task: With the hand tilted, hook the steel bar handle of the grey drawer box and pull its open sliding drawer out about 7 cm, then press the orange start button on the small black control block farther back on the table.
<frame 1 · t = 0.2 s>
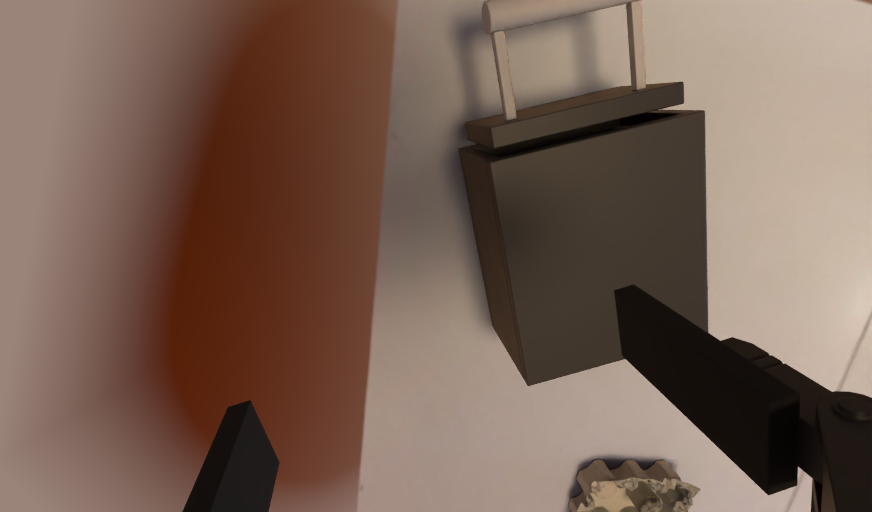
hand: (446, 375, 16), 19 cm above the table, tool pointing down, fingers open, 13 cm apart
grey drawer box: (554, 223, 36), on the table
open sliding drawer: (570, 161, 30), point 4 cm above the table, slide at 0.5 cm
egg carton: (619, 484, 46), on the table
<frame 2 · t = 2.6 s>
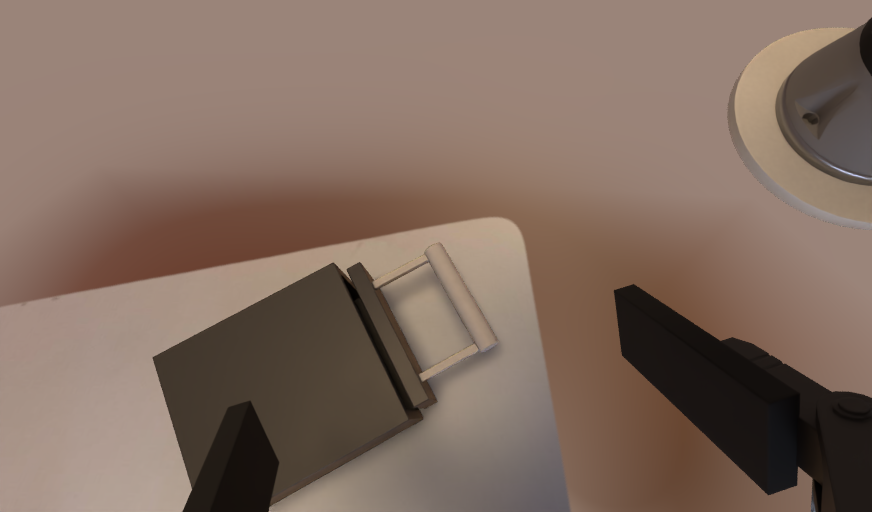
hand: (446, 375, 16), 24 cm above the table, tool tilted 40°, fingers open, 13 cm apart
grey drawer box: (315, 392, 40), on the table
open sliding drawer: (359, 356, 36), point 4 cm above the table, slide at 0.5 cm
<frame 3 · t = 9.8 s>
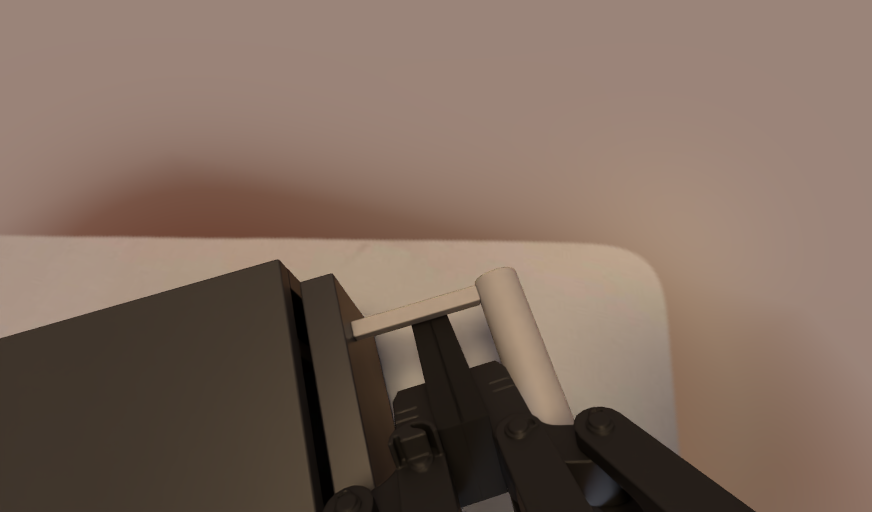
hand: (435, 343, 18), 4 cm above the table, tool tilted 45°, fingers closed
open sliding drawer: (289, 479, 16), point 4 cm above the table, slide at 0.3 cm, touching gripper
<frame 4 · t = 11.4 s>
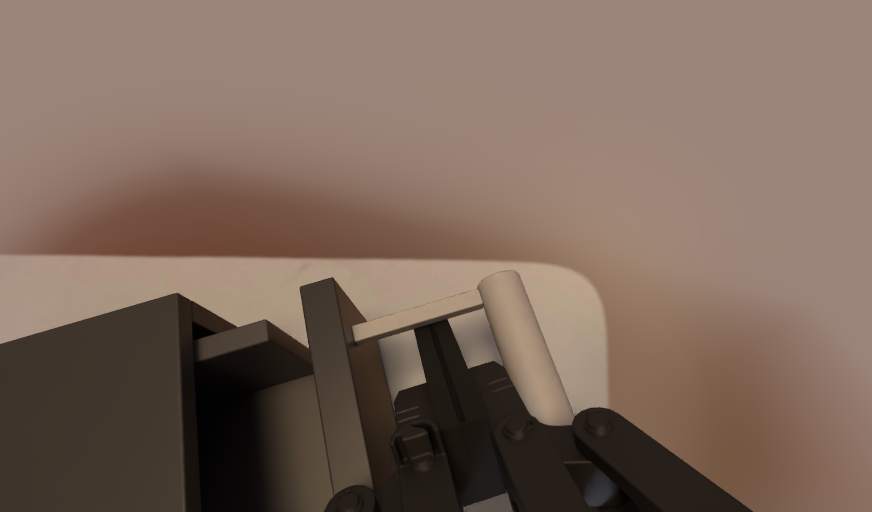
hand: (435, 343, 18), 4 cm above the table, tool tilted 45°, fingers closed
open sliding drawer: (290, 484, 16), point 4 cm above the table, slide at 3.6 cm, touching gripper
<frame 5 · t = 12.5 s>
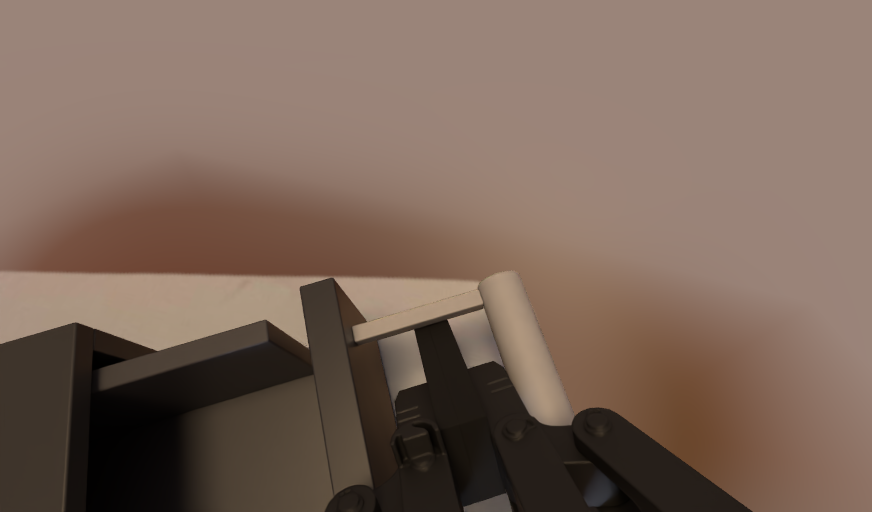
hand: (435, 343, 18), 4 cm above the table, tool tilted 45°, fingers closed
open sliding drawer: (290, 485, 16), point 4 cm above the table, slide at 6.9 cm, touching gripper
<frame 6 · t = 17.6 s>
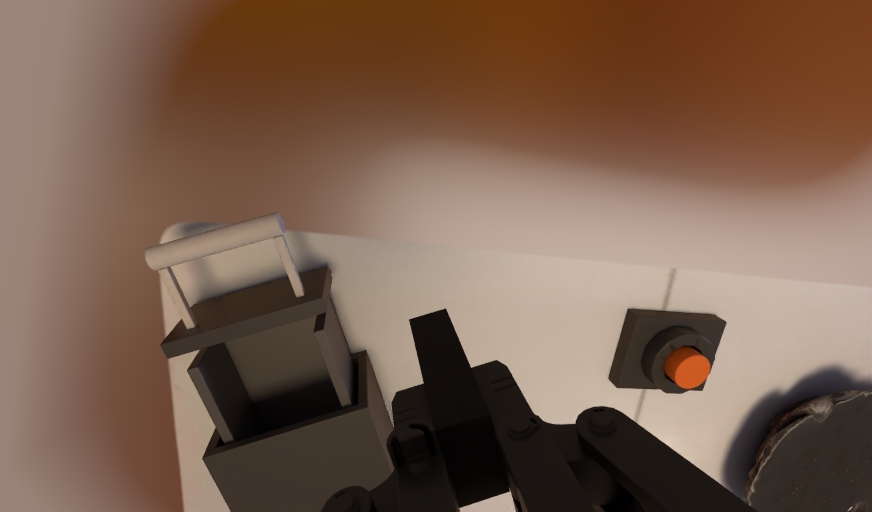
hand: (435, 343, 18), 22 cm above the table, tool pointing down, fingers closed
grey drawer box: (325, 432, 45), on the table
control block: (661, 346, 48), on the table
open sliding drawer: (269, 341, 36), point 4 cm above the table, slide at 8.0 cm
board: (799, 444, 56), on the table
start button: (686, 367, 44), point 4 cm above the table, slide at 0.1 cm
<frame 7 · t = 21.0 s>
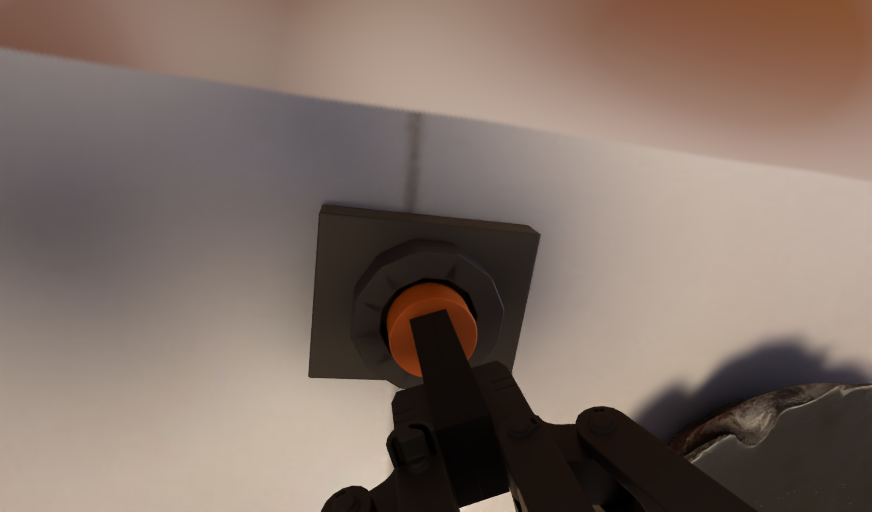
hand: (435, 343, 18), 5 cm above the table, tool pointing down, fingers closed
control block: (419, 292, 23), on the table
board: (729, 481, 31), on the table
start button: (430, 329, 19), point 4 cm above the table, slide at 0.1 cm, touching gripper
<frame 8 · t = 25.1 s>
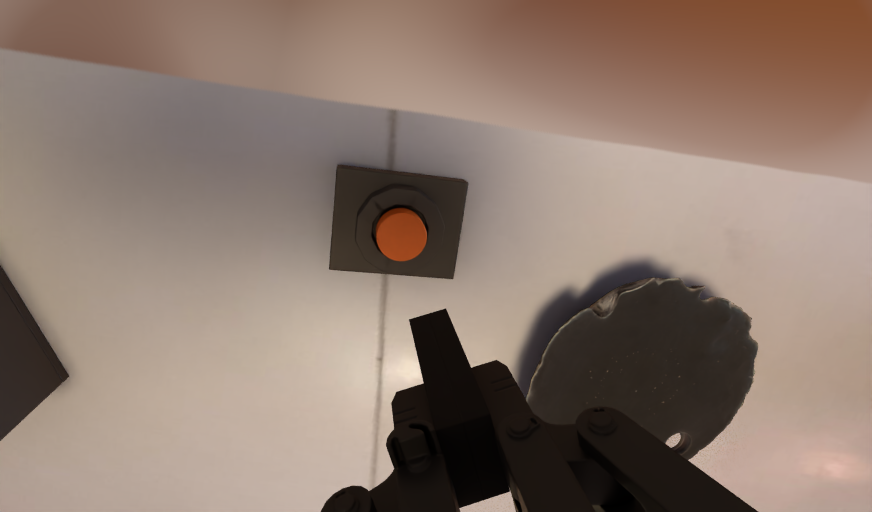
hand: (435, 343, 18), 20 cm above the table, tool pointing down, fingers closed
control block: (396, 221, 37), on the table
board: (613, 363, 46), on the table
start button: (401, 234, 34), point 4 cm above the table, slide at 0.1 cm
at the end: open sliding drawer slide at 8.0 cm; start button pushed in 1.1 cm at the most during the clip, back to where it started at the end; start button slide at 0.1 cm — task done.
